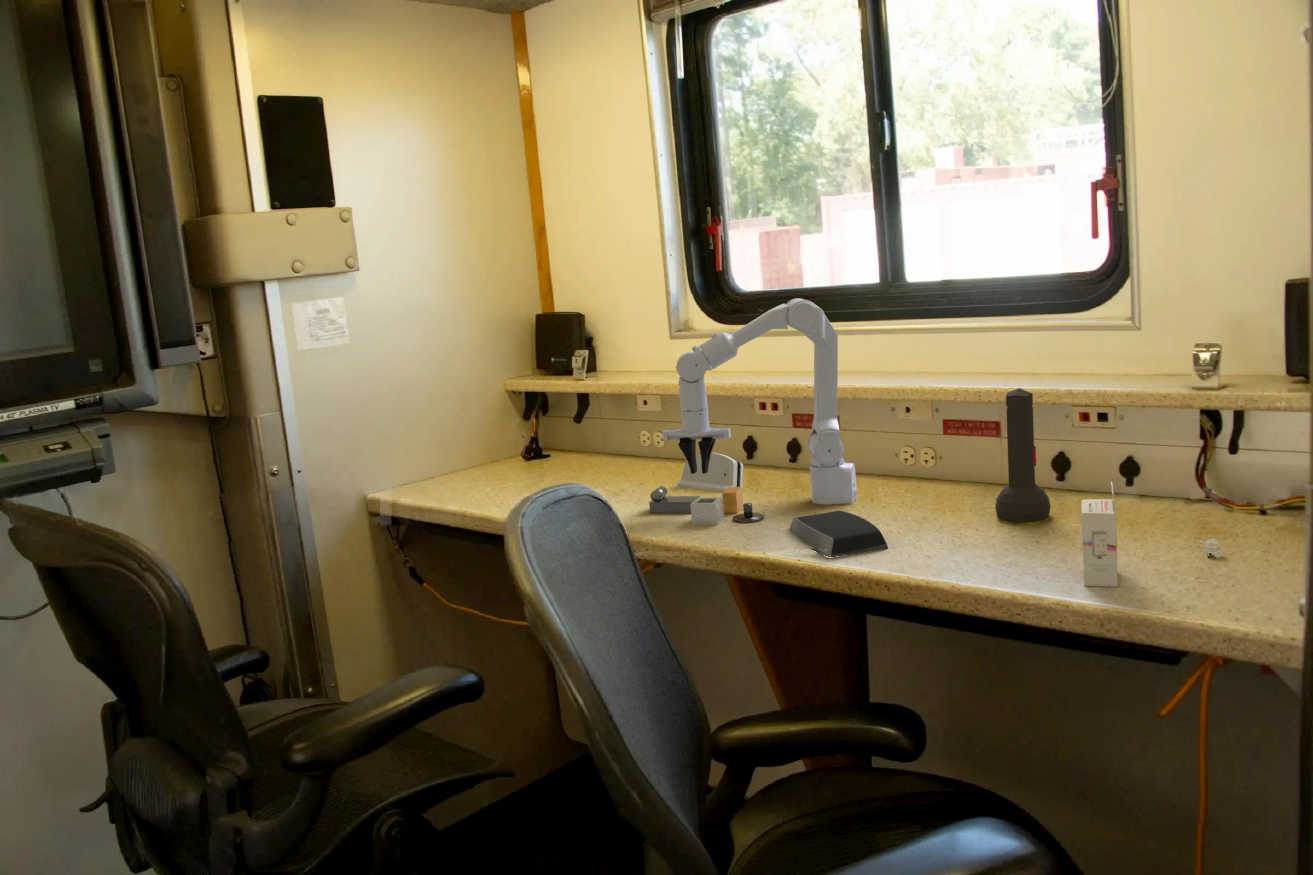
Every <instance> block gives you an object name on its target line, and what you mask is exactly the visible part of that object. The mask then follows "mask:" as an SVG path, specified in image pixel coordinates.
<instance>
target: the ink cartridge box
mask: <svg viewBox="0 0 1313 875" xmlns="http://www.w3.org/2000/svg"><path fill="white" fill-rule="evenodd" d="M1110 483H1111V484H1110V485H1111V494H1112V499H1108V498H1105V499H1104V498H1103V499H1100V498H1099V499H1089V498H1088V499H1081V502H1080V503H1081V504H1080V505H1081V506H1080V521H1081V540H1082V541H1081V542H1082V556H1083V558H1082V559H1083V579H1084V580H1083V581H1084V583H1083V584H1084V587H1109V588H1112V587H1113V588H1115V587H1118V584H1119V583H1118V531H1117V510H1116V502H1115V491H1114V484H1113V481H1112V480H1111V482H1110Z"/></svg>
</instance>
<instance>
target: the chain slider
mask: <svg viewBox="0 0 1313 875" xmlns="http://www.w3.org/2000/svg"><path fill="white" fill-rule="evenodd" d="M721 495H722V497H723V504H724V514H738V513H740V511H741V510H742V509H743V504H744V498H743V497H744V496H743V487H728V488H727V489H726V490H725V491H724V492H721Z"/></svg>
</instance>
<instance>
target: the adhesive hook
mask: <svg viewBox="0 0 1313 875" xmlns="http://www.w3.org/2000/svg"><path fill="white" fill-rule="evenodd" d="M1200 543H1201V544H1205V546H1204V548H1205V549H1203V550H1202V552H1203V553H1204V554H1205V553H1206V554H1208V555H1207V556H1209V557H1210V555H1211V554H1212V555H1214V557H1217V555H1222V556H1223V551H1222V550H1220V544H1219V540H1218V539H1214V538H1206V541H1202V540H1200ZM1209 553H1211V554H1209ZM1217 558H1218V557H1217Z"/></svg>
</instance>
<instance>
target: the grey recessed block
mask: <svg viewBox="0 0 1313 875" xmlns="http://www.w3.org/2000/svg"><path fill="white" fill-rule="evenodd" d="M690 505H691V516H690V517H691V525H692V526H718V525H719V524H720V523H722V521H723V520H725V517H726V516H725V513H724V504H723V497H721V496H720V497H718V496H717V497H713V496H711V497H700V498H697V499H696V500H695V501H693V502H692V503H691V504H690Z"/></svg>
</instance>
